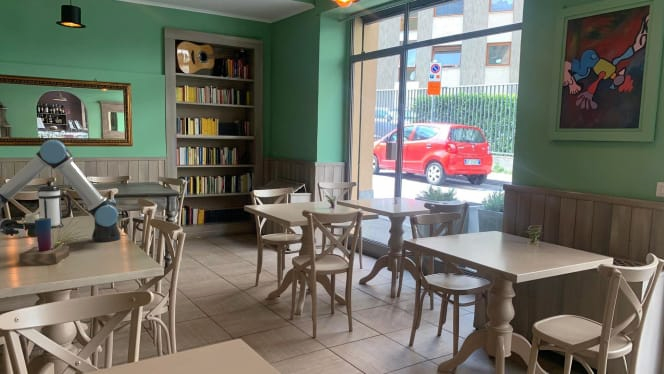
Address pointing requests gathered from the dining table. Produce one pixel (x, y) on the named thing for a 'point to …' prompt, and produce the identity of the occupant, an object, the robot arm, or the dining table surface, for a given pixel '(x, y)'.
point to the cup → (43, 233)
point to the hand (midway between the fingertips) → (37, 229)
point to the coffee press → (52, 203)
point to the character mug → (31, 219)
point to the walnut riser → (43, 256)
